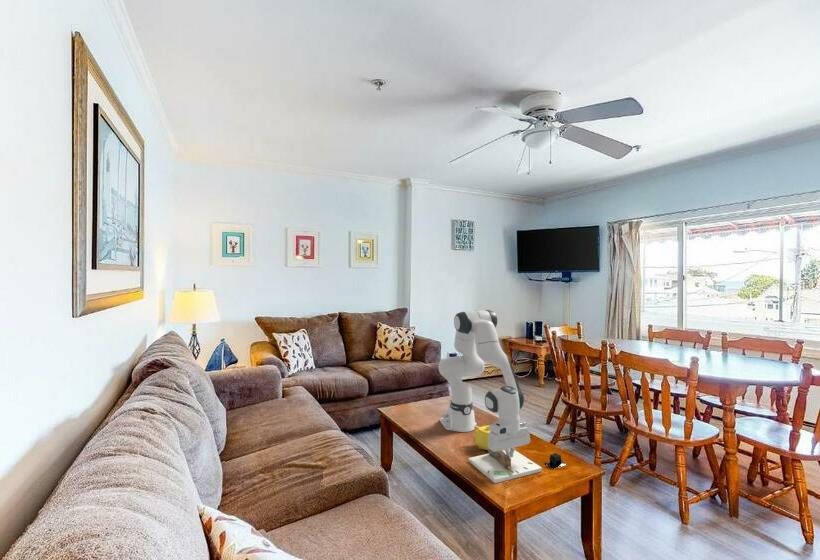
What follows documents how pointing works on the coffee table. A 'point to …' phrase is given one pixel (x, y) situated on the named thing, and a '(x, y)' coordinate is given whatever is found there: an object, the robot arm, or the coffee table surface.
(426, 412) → the coffee table surface
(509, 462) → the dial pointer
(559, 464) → the black flanged block
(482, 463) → the dial plate
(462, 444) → the coffee table surface
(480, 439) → the teapot
